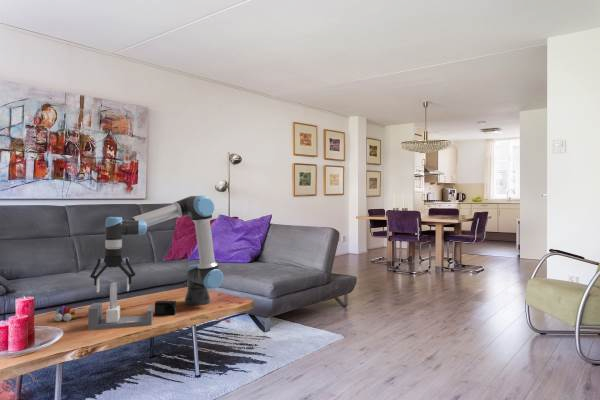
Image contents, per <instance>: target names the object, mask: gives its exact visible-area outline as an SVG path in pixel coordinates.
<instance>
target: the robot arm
mask: <svg viewBox="0 0 600 400" xmlns="http://www.w3.org/2000/svg"><path fill="white" fill-rule="evenodd" d="M214 211H215V203H214V201H213V200H212V198H211V197H210V196H207V195H190V196H187V197H184V198H182V199H179V200H177V201H174V202H173V203H172V204H169V205H167V206H164V207H160V208H157V209H154V210H151V211H148V212H145V213H144V212H143V213H142V214H138V215H135V216H133V217H130V218H129V217H128V218H125V219H123V217H122V216H109V217H106V219H105V225H104V226H105V228H104V229H105V239H104V241H105V245H104V248H105V249H104V258H101V257H99V258H97V263H96V265H95V267H94V269H93V270H92V272H91V274H90V275H89V277H90V278H91V279H93V282H94V283H93V285H94V286H95V287H96V293H99V292H100V278H99V277H100V276H101V275H102V273H103V272H104V271H105V270H106V269H107V268H119V269H121V271H122V272H123V273H124V274H125V275H126V276H127V277H126V292H129V291H130V284H132V279H133V277H135V276H136V272H135V270H134V269H133V267H132V265H131V262H130V259H129V257H128V256H127V257H124V258H123V249H122V247H123V237H125V236H142V235H143V236H144V235H145V234H146V233H147V232H148V231H147V229H148V227H150V226H154V225H156V224H160V223H163V222H166V221H168V220H171V219H174V218H179V219H181V218H182V217H190V218H191V222H193V223H194V226H195V227H194V229H195V235H196V243H197V251H198V259H199V263H198V264H190V265H188V267H187V290H186V294H185V297H184V305H187V306H201V305H206V304H209V303H211V296H210V294H209V291H208V290H215V289H217V288H219V287H220V286H221V284H222V282H223V281H224V274H223V272H222V271H221V270H220V268H219V263H218V262H216V259H215V252H214V242H213V235H212V228H211V220H212V219H213V215H212V214H214ZM103 262H104V263H105V265H104V266H103V267H101V269H100V270H99V267H100V266H101V264H102V263H103ZM122 262H124V263H126V266H127V267H128V269H126V267H125V266H124V265H123V263H122ZM98 270H99V272H97V271H98ZM96 273H97V274H96Z"/></svg>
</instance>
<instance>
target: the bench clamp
mask: <svg viewBox="0 0 600 400" xmlns="http://www.w3.org/2000/svg"><path fill="white" fill-rule="evenodd" d="M87 317H88V323H87V324H88V326H87V327H88V331H93V330H94V331H96V330H106V329H107V330H108V329H110V330H111V329H120V328H131V327H132V328H134V327H144V326H152V324H153V319H154V305H153V304H149V305H148V307H147V311H146V315H133V316H120V319H119V321H118V322H114V323H106V317H105V318H103V302H93V303H92V304H91V305H90V306H89V308H88V315H87Z"/></svg>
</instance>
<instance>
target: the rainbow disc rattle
mask: <svg viewBox="0 0 600 400" xmlns="http://www.w3.org/2000/svg"><path fill="white" fill-rule="evenodd" d="M71 309H72V307H71V306H70V305H69V306H66V305H63V306H62V307H61V308H57V309H56V314H54V320H55V322H59V323H60V322H62V321H65V322H70V321H71V320H72V319H74V318H76V315H77V312H76V309H72V310H71Z"/></svg>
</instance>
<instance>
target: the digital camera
mask: <svg viewBox="0 0 600 400" xmlns="http://www.w3.org/2000/svg"><path fill="white" fill-rule="evenodd" d="M176 314H177V301H176V300H159V301H158V300H156V301H155V302H154V316H155V317H156V316H157V317H158V316H159V317H160V316H161V317H162V316H175V315H176Z"/></svg>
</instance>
